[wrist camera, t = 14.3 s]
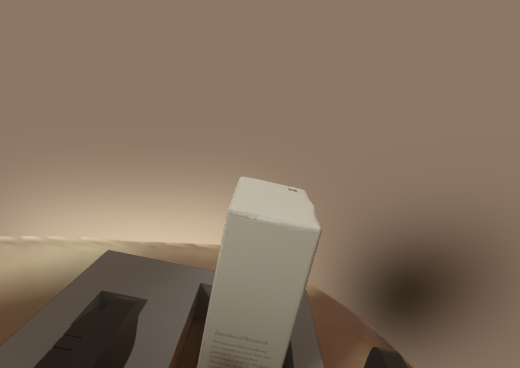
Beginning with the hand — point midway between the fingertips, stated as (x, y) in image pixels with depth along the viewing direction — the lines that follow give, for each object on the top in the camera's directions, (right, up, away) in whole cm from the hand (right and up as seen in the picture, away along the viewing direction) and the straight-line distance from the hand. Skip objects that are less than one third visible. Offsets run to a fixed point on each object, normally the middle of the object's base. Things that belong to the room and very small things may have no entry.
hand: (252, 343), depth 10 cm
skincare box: (-2, -7, +8) cm, 11 cm away
